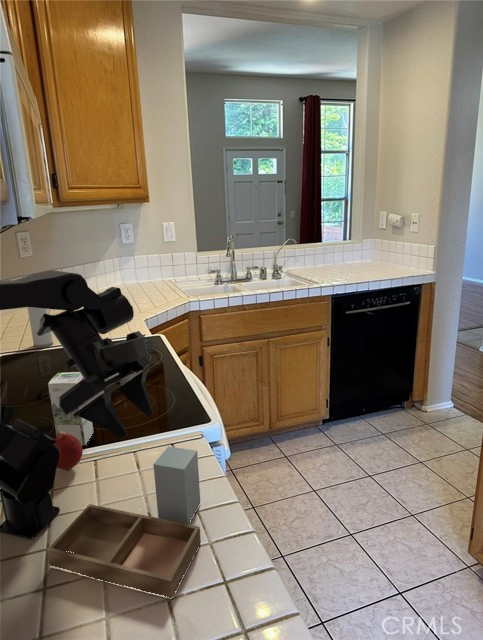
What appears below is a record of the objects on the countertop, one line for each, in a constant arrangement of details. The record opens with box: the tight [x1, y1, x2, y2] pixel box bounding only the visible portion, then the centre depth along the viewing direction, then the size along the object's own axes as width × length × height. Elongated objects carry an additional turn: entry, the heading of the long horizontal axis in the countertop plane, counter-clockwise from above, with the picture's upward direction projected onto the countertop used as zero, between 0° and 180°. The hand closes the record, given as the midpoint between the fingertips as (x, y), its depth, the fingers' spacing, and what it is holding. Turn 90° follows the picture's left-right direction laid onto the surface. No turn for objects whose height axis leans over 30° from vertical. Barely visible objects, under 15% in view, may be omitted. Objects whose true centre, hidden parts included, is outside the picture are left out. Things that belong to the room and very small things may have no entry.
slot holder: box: [46, 503, 202, 598], centre depth 60 cm, size 18×9×3 cm, turn 73°
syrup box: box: [47, 371, 94, 446], centre depth 88 cm, size 6×6×14 cm
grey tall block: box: [152, 446, 201, 525], centre depth 68 cm, size 5×5×10 cm
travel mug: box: [27, 307, 54, 349], centre depth 149 cm, size 6×7×20 cm
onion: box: [54, 432, 83, 472], centre depth 80 cm, size 6×6×8 cm
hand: (138, 424), depth 69 cm, fingers open, 9 cm apart
